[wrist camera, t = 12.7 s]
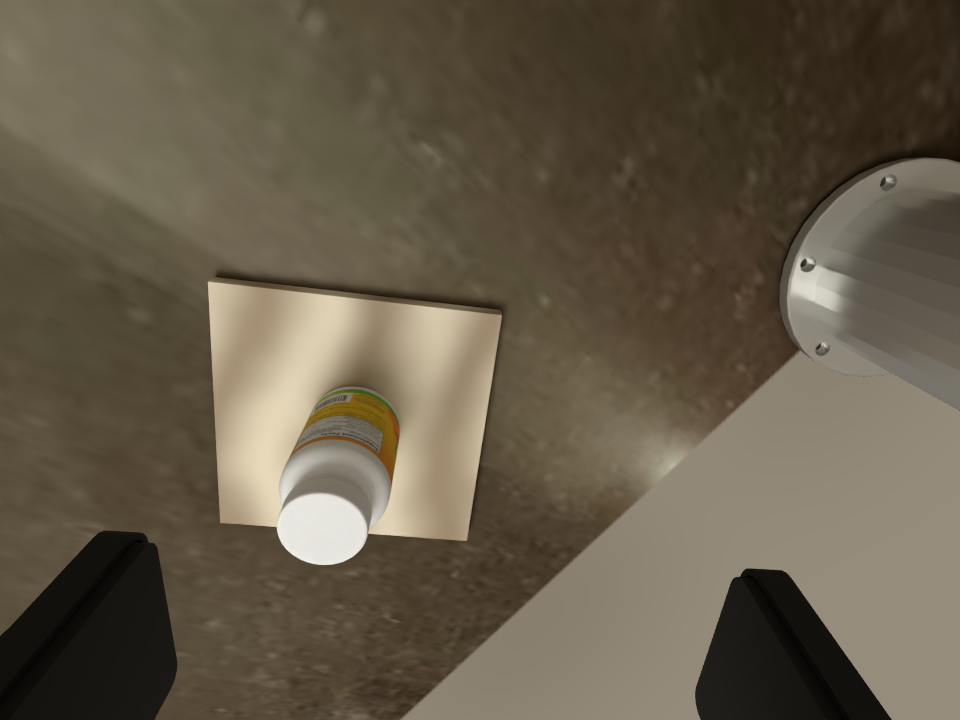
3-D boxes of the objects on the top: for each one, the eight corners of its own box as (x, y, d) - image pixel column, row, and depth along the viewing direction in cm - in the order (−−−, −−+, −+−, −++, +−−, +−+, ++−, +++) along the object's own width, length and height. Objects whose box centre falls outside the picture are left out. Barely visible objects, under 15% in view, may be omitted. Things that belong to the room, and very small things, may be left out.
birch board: (500, 309, 32) (501, 315, 31) (466, 530, 38) (466, 540, 37) (215, 277, 31) (208, 281, 30) (226, 512, 37) (220, 522, 36)
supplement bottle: (379, 475, 35) (355, 593, 26) (297, 442, 34) (242, 554, 25) (415, 405, 33) (404, 507, 24) (330, 369, 32) (285, 461, 23)
